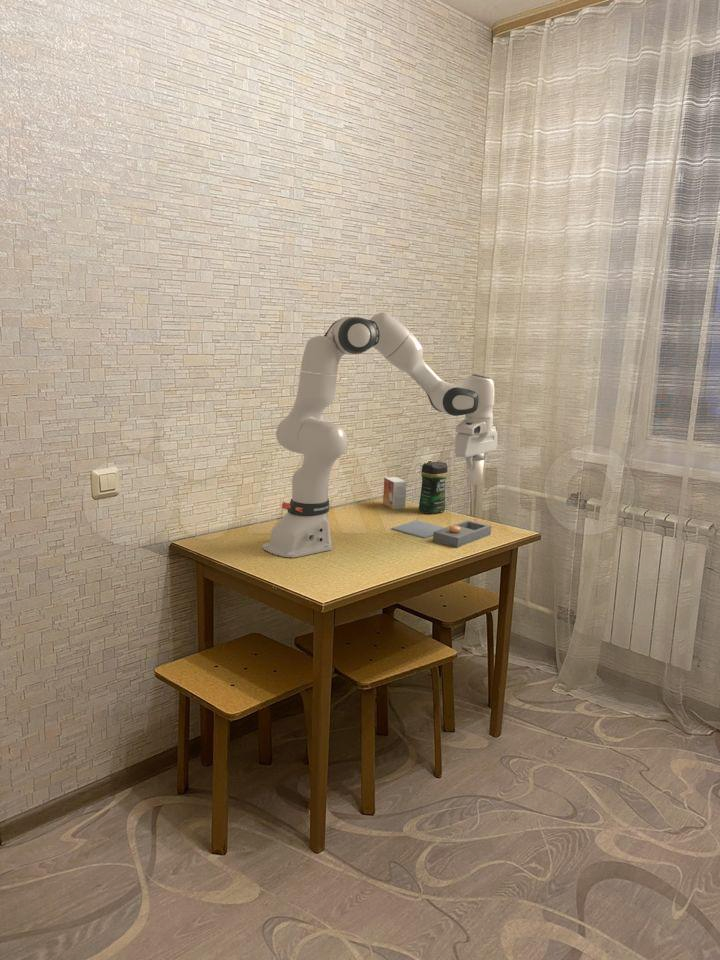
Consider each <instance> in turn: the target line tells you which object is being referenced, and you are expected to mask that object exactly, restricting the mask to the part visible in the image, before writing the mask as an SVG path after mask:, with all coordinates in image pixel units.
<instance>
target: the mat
mask: <svg viewBox="0 0 720 960" xmlns="http://www.w3.org/2000/svg"><path fill="white" fill-rule="evenodd" d="M443 528H446V527H444V526H440V525H437V524H432V523H429V522H426V521H420V520H418V519H416V520H413V521H409V522H407V523H404V524H400V525H397V526H394V527H391V528H390V530H391V531H397V532H401V533H403V534H408V535H411V536H415V537H419V538H421V539H428V538H431V537H433V535H434V532H435V531H437V530H440V529H443Z"/></svg>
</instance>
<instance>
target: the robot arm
mask: <svg viewBox="0 0 720 960" xmlns="http://www.w3.org/2000/svg"><path fill="white" fill-rule="evenodd" d="M371 348H374V349H375V350H376V351H377V352H379V353H380V355H382V357H383V358H385V359H386V360H387V361H388V362H389V363H390V364H391V365H393V366H394V367H395V368H396V369H398V370H400V371H402V372H403V373H405V374H407V375H409V376H410V377H411V379H413V380H414V382H416V383H417V384H418V385H419V387H420V388H422V390H423V391H424V392H425V393H426V395H427V397H428V400H429V403H430V405H431V406H432V408H433V409H434V410H436V411H438V412H440V413H444V414H447V415H449V416H451V417H458V416H465V417H464V418H465V419H463V420H462V421H461V422H460V423H458V424H457V425H456V426H455V432H456V435H455V440H454V454H455V456H456V457H458V458H464V459H465V462H466V469H467V470H468V469H473V468H474V464H473V462H472V459H473V456H475V455H478V454H482V453H484V465H485V463H486V460H487V459H488V458H487V457H488V453H491V452H496V450H497V448H498V431H497V430H496V429H497V427H496V425H495V424H494V423H493V421H494V413H493V408H494V405H495V395H496V393H495V382H494V380H493V379H492V378H491V377H488V376H485V375H481V374H474V373H473V374H470V375H469V376H468V377H467V378H466V379H464V380H462V381H460V382H457V383H452V382H450V381H447V380H444V379H442V378H440V377H439V376H438V375H437V374H436V373H435V372H434V371H433V369H431V367H430V366H429V365H428V364H427V363H426V362H425V359H424V358H423V357H424V356H423V354H424V349H423V346H422V344H421V342H420V341H419V340H418V339H417V337H416V336H415V335H414V334H413V333H412V332H411V331H410V330H409V329H408V328H407V327H406V326H405V325H404V324H402V322H400V321H399V320H398V319H396V318H395V317H393V316H392V315H391V314H388V313H386V312H378V313H376V314H374V315H373V316H372V317H370V318H369V319H367V318H364V317H358V316H347V317H342V318H340V319H337V320H336V321H334V322H333V323H332V324H331V325H330V326H329V328H328V329H327V331H326V332H325V333H324V335H316V336H312V337H311V338H309V339H308V340H307V341H306V344H305V348H304V351H303V355H302V360H301V365H300V372H299V379H298V380H299V381H298V386H297V394H296V398H295V401H294V403H293V406H292V407H291V409H290V412H289V413H288V415H287V416H286V417H284V419H282V420H281V421H280V422H279V424H278V426H277V428H276V432H275V433H276V434H275V435H276V440H277V443H278V444H279V445H280V446H281V447H282V448H284V449H286V450H288V451H289V452H292V453H297V454H301V455H303V460H302V461H303V462H302V465H301V467H300V468H298V469H297V470H295V471H294V473H293V474H292V479H291V480H292V487H291V499H290V501H289V502H286V501H283V502H282V503H281V508H282V509H285V510H287V512H286V513H285V514H284V516H283V517H282V518H281V519H280V520H279V521H278V522H277V523H276V524H275V525H274V526H273V527H272V529H271V532H270V537H269V541H268V542H265V543H263V544H262V549H263V550H264V551H265V550H266V552H267V551H268V552H267V553H269V552H270V554H272V553H273V554H272V555H275V556H278V555H279V557H284V558H290V557H291V559H293V558H298V557H303V556H308V555H314V554H317V553H322V552H323V553H324V552H328V551H332V550H333V540H332V537H331V528H330V521H329V512H330V500H329V481H330V474H331V471H332V468H333V465H334V464H335V462H336V460H337V459H338V458H340V457H341V456H342V455H343V454H344V453H345V451H346V449H347V445H348V438H347V437H348V436H347V434H346V432H345V430H344V429H343V428H342V427H340V426H339V425H336V424H334V423H332V422H329V421H324V420H323V421H321V420H320V419H321V416H322V414H323V412H324V411H325V409H326V408H327V407H329V406H331V405H332V404H333V403H334V401H335V394H336V393H335V392H336V388H337V386H336V385H337V378H338V367H339V364H340V361H341V359H342V357H343V356H344V355H347V356H349V355H350V356H352V355H354V356H355V355H358V354H363V353H365V352H367V351H369V350H370V349H371Z"/></svg>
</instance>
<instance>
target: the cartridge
mask: <svg viewBox="0 0 720 960" xmlns="http://www.w3.org/2000/svg"><path fill="white" fill-rule="evenodd" d="M472 462H473V464H474V468H473V469H467V475H466V483H467V484H468V485H473V486H474V485H475V486H479V485H480V486H481V485H483V479H484V477H483V476H484V466H485V464H484V453H482V454H478V455H475V456H473V459H472Z"/></svg>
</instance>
